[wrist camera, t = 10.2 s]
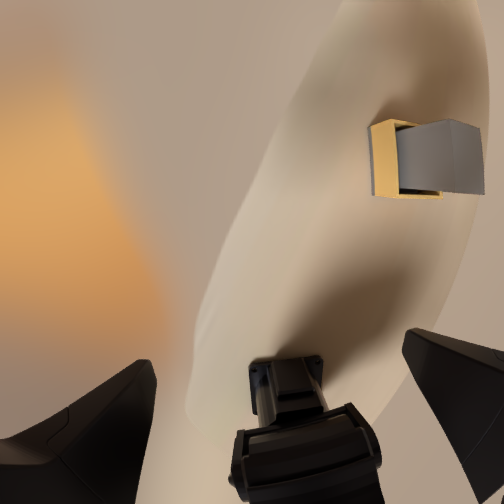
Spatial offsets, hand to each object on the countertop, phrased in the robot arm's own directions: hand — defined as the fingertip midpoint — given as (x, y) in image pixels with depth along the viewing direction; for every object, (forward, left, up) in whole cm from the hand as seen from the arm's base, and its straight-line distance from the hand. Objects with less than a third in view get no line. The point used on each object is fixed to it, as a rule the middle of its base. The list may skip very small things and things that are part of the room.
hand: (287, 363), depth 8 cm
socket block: (+7, -12, -12) cm, 18 cm away
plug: (+7, -12, -12) cm, 18 cm away
